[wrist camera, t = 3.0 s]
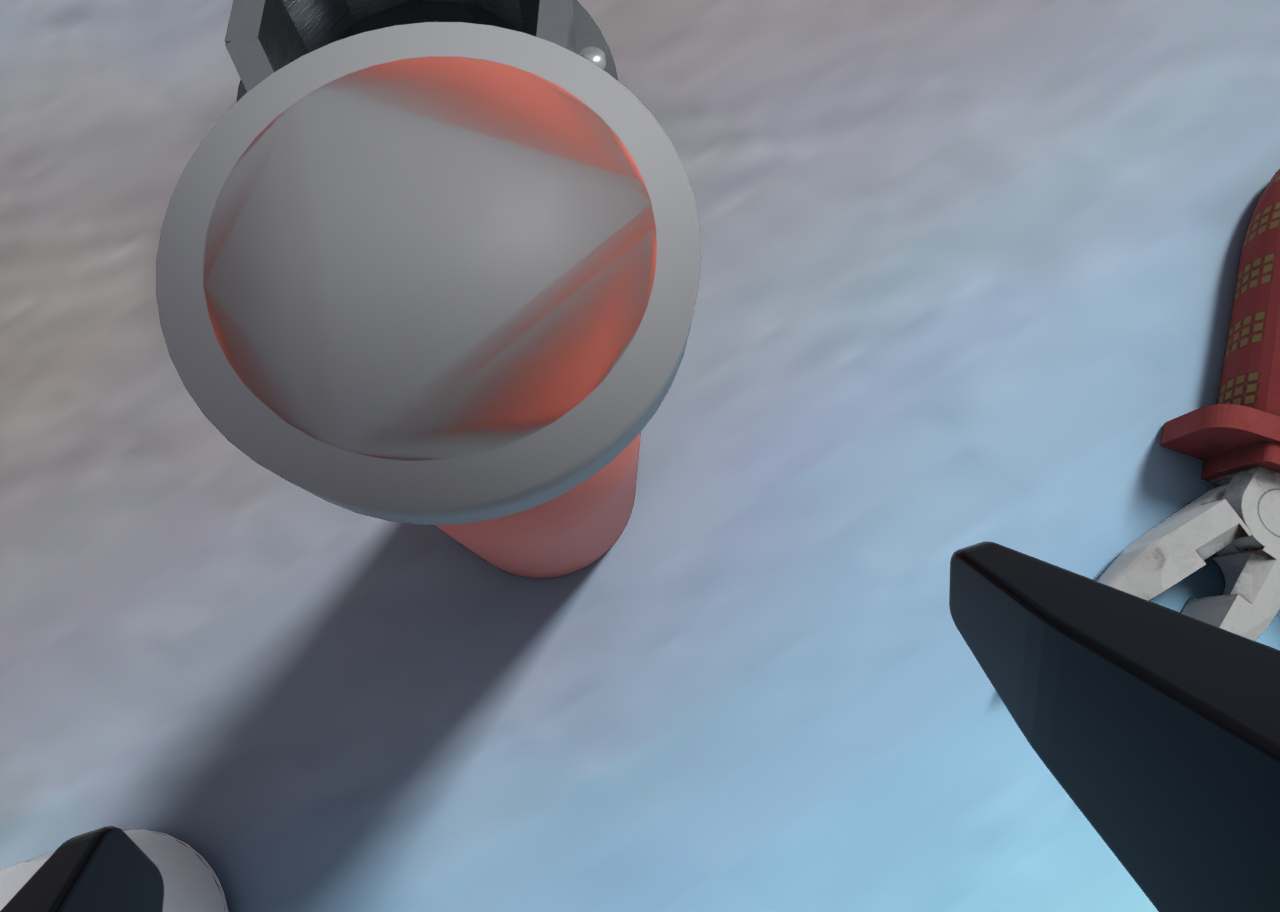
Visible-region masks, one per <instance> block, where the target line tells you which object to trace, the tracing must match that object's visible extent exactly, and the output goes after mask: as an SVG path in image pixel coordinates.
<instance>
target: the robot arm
mask: <svg viewBox="0 0 1280 912" xmlns="http://www.w3.org/2000/svg"><path fill="white" fill-rule="evenodd" d="M949 605H950V612H951V615H952V618H953V621H954V623H955V625H956V627H957V629H958V630H959V632H960V633H961V635H962V637H963V638H964V640H965V642H966V643H967V645H968V646H969V648H970V650H971V651H972V653H973V654H974V656H975V658H976V659H977V661H978V662H979V664H980V666H981V667H982V669H983V670H984V672H985V674H986V675H987V677H988V679H989V680H990V682H991V683H992V685H993V687H994V688H995V690H996V691H997V693H998V695H999V696H1000V698H1001V699H1002V701H1003V703H1004V704H1005V706H1006V708H1007V709H1008V711H1009V712H1010V714H1011V716H1012V717H1013V719H1014V720H1015V722H1016V724H1017V725H1018V727H1019V728H1020V730H1021V731H1022V733H1023V734H1024V736H1025V737H1026V739H1027V740H1028V742H1029V743H1030V745H1031V746H1032V748H1033V749H1034V750H1035V752H1036V753H1037V754H1038V756H1039V757H1040V759H1041V760H1042V761H1043V763H1044V764H1045V765H1046V767H1047V768H1048V769H1049V770H1050V772H1051V773H1052V774H1053V776H1054V777H1055V778H1056V780H1057V781H1058V782H1059V783H1060V785H1061V786H1062V787H1063V789H1064V790H1065V791H1066V792H1067V794H1068V795H1069V796H1070V798H1071V799H1072V800H1073V801H1074V803H1075V804H1076V805H1077V807H1078V808H1079V809H1080V811H1081V812H1082V813H1083V814H1084V816H1085V817H1086V818H1087V820H1088V821H1089V822H1090V823H1091V825H1092V826H1093V827H1094V829H1095V830H1096V831H1097V832H1098V834H1099V835H1100V836H1101V838H1102V839H1103V840H1104V842H1105V843H1106V844H1107V845H1108V847H1109V848H1110V849H1111V851H1112V852H1113V853H1114V854H1115V856H1116V857H1117V858H1118V860H1119V861H1120V862H1121V863H1122V865H1123V866H1124V867H1125V869H1126V870H1127V871H1128V872H1129V874H1130V875H1131V876H1132V878H1133V879H1134V880H1135V882H1136V883H1137V884H1138V885H1139V887H1140V888H1141V889H1142V891H1143V892H1144V893H1145V894H1146V896H1147V897H1148V898H1149V900H1150V901H1151V902H1152V903H1153V905H1154V906H1155V907H1156V909H1157V910H1158V911H1159V912H1280V650H1277V649H1274V648H1272V647H1269V646H1266V645H1264V644H1261V643H1258V642H1256V641H1253V640H1250V639H1248V638H1245V637H1243V636H1240V635H1237V634H1235V633H1232V632H1229V631H1227V630H1224V629H1221V628H1219V627H1216V626H1213V625H1211V624H1208V623H1206V622H1203V621H1200V620H1198V619H1195V618H1192V617H1190V616H1187V615H1184V614H1182V613H1179V612H1176V611H1174V610H1171V609H1169V608H1166V607H1163V606H1161V605H1158V604H1155V603H1153V602H1150V601H1147V600H1145V599H1142V598H1139V597H1137V596H1134V595H1132V594H1129V593H1126V592H1124V591H1121V590H1118V589H1116V588H1113V587H1110V586H1108V585H1105V584H1102V583H1100V582H1097V581H1095V580H1092V579H1089V578H1087V577H1084V576H1081V575H1079V574H1076V573H1073V572H1071V571H1068V570H1065V569H1063V568H1060V567H1058V566H1055V565H1052V564H1050V563H1047V562H1044V561H1042V560H1039V559H1036V558H1034V557H1031V556H1028V555H1026V554H1023V553H1021V552H1018V551H1015V550H1013V549H1010V548H1007V547H1005V546H1002V545H999V544H997V543H993V542H982V543H978V544H975V545H972V546H969V547H966V548H963V549H960V550H957V551H956V552H954V554H953V555H952V557H951V562H950V597H949ZM163 903H164V882H163V878H162V875H161V872H160V870H159V868H158V867H157V866H156V865H155V864H154V863H153V862H152V860H151V859H150V858H149V857H148V856H147V855H146V854H145V853H144V852H143V851H142V850H141V849H140V848H139V847H138V846H137V845H136V844H135V843H134V842H133V841H132V839H131V838H130V837H129V836H128V835H127V834H126V833H125V832H124V831H123V830H121V829H120V828H116V827H113V826H109V827H104V828H100V829H97V830H94V831H91V832H88V833H85V834H82V835H79V836H76V837H73V838H71V839H69V840H67V841H66V842H65V843H63V844H62V845H61V846H60V847H59V848H58V849H57V850H56V851H55V852H54V853H53V854H52V855H51V856H50V858H49V859H48V860H47V861H46V862H45V863H44V864H43V865H42V866H41V867H40V868H39V869H38V871H37V872H36V873H35V874H34V875H33V876H32V877H31V878H30V879H29V880H28V881H27V883H26V884H25V885H24V886H23V887H22V888H21V889H20V890H19V891H18V892H17V893H16V894H15V896H14V897H13V898H12V899H11V900H10V901H9V902H8V903H7V904H6V905H5V906H4V908H3V909H2V910H1V911H0V912H163Z"/></svg>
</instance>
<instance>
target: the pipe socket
mask: <svg viewBox="0 0 1280 912" xmlns="http://www.w3.org/2000/svg"><path fill="white" fill-rule="evenodd" d="M424 22H464V23H473V24H482V25H491V26H497V27H501V28H505V29H510V30H514V31H519V32H523V33H527V34H529V35H532V36H535V37H538V38H541V39H544V40H547V41H550V42H553V43H555V44H557V45H559V46H561V47H563V48H565V49H568V50H570V51H572V52H574V53H576V54H578V55H580V56H582V57H584V58H585V59H587V60H588V61H590V62H591V63H593V64H595V65H596V66H598V67H599V68H601V69H602V70H604V71H606V72H607V73H609V74H610V75H611V76H612V77H613V78H615V79H616V80H617V81H618V79H617V73H616V67H615V64H614V61H613V58H612V55H611V52H610V49H609V47H608V45H607V43H606V41H605V39H604V37H603V35H602V33H601V31H600V29H599V28H598V26H597V25H596V23H595V22H594V20H593V19H592V18H591V16H590V15H589V13H588V12H587V11H586V10H585V9H584V8H583V7H582V6H581V4H580V3H579V2H578V1H577V0H234V1H233V5H232V10H231V14H230V19H229V24H228V28H227V33H226V37H225V42H226V44H225V45H226V47H227V50H228V52H229V54H230V56H231V58H232V60H233V63H234V65H235V67H236V69H237V71H238V73H239V76H240V78H241V81H240V84H239V88H238V95H237V102H238V101H239V100H240V99H241V98H242V97H243V96H244V95H245V94H246V93H247V92H249V91H250V90H251V89H253V88H254V87H255V86H257V85H258V84H259V83H261V82H262V81H263V80H265V79H266V78H267V77H269V76H270V75H271V74H272V73H274V72H276V71H277V70H279V69H281V68H283V67H284V66H286V65H288V64H289V63H291V62H293V61H294V60H296V59H298V58H299V57H301V56H303V55H305V54H308V53H310V52H312V51H314V50H317V49H319V48H321V47H323V46H325V45H328V44H330V43H332V42H335V41H338V40H341V39H344V38H347V37H351V36H354V35H357V34H360V33H363V32H367V31H372V30H377V29H381V28H386V27H391V26H395V25H405V24H414V23H424Z"/></svg>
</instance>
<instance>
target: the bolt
mask: <svg viewBox="0 0 1280 912" xmlns="http://www.w3.org/2000/svg"><path fill="white" fill-rule="evenodd" d="M123 831H124V832H125V833H126V834H127V835H128V836H129V837H130V838H131V839H132V841H133V842H134V843H135V844H136V845H137V846H138V847H139V848H140V849H141V850H142V851H143V852H144V853H145V854H146V855H147V856H148V857H149V858H150V859H151V860H152V862H153V863H154V864H155V865H156V866H157V867H158V868H159V870H160V872H161V875H162V878H163V882H164V903H163V912H229V911H228V907H227V902H226V898H225V894H224V892H223V889H222V886H221V884H220V881H219V879H218V877H217V876H216V874H215V872H214V870H213V869H212V868H211V866H210V865H209V864H208V862H207V861H206V860H205V859H204V857H203V856H201V855H200V854H199V853H198V852H197V851H195V850H194V849H193V848H192V847H191V846H189V845H188V844H187V843H185V842H183V841H181V840H178V839H176V838H174V837H172V836H170V835H168V834H166V833H161V832H156V831H150V830H145V829H134V830H123ZM54 852H55V851H53V852H51V853H48V854H45V855H42V856H39V857H36V858H33V859H31V860H28V861H25V862H22V863H18V864H16V865H13V866H10V867H7V868H4V869H2V870H0V911H1V910H2V909H3V908H4V906H5V905H6V904H7V903H8V902H9V901H10V900H11V899H12V898H13V897H14V896H15V894H16V893H17V892H18V891H19V890H20V889H21V888H22V887H23V886H24V885H25V884H26V883H27V881H28V880H29V879H30V878H31V877H32V876H33V875H34V874H35V873H36V872H37V871H38V869H39V868H40V867H41V866H42V865H43V864H44V863H45V862H46V861H47V860H48V859H49V858H50V856H51V855H52V854H53V853H54Z"/></svg>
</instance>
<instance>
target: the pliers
mask: <svg viewBox="0 0 1280 912" xmlns="http://www.w3.org/2000/svg"><path fill="white" fill-rule="evenodd" d="M1160 446H1162V447H1165V448H1168V449H1171V450H1174V451H1177V452H1180V453H1183V454H1186V455H1190V456H1193V457H1196V458H1199V459H1202V460H1204V464H1203V470H1202V477H1201V479H1203V480H1206V481H1209V482H1212V483H1215V484H1218V485H1221V486H1219V487H1215V488H1213V489H1210V490H1209V491H1207V492H1206V493H1204V494H1203V495H1201V496H1200V497H1198V498H1197V499H1195V500H1194V501H1192V502H1191V503H1189V504H1188V505H1186V506H1185V507H1183V508H1182V509H1180V510H1179V511H1177V512H1176V513H1174V514H1173V515H1171V516H1170V517H1168V518H1167V519H1165V520H1164V521H1162V522H1161V523H1159V524H1158V525H1156V526H1155V527H1153V528H1152V529H1151V530H1149V531H1148V532H1146V533H1145V534H1143V535H1142V536H1141V537H1139V538H1138V539H1136V540H1135V541H1134V542H1132V543H1131V544H1130V545H1129V546H1127V547H1126V548H1125V549H1124V550H1123V551H1122V552H1121V553H1120V555H1119V556H1118V557H1117V558H1116V559H1115V560H1114V561H1113V563H1112V564H1111V565H1110V566H1109V567H1108V568H1107V569H1106V571H1105V572H1104V573H1103V574H1102V575H1101V576H1100V577H1099V579H1098V580H1097V582H1100V583H1102V584H1105V585H1108V586H1110V587H1113V588H1116V589H1118V590H1121V591H1124V592H1126V593H1129V594H1132V595H1134V596H1137V597H1139V598H1142V599H1145V600H1147V601H1149V600H1150V599H1152V598H1154V597H1155V596H1157V595H1159V594H1160V593H1162V592H1164V591H1165V590H1167V589H1169V588H1170V587H1172V586H1173V585H1175V584H1176V583H1178V582H1180V581H1181V580H1183V579H1184V578H1186V577H1187V576H1189V575H1190V574H1192V573H1194V572H1195V571H1197V570H1198V569H1200V568H1201V567H1203V566H1205V565H1206V563H1205V561H1204V560H1205V559H1207V558H1208V557H1210V556H1211V555H1213V554H1216V555H1217V556H1213V557H1212V559H1213V560H1214V561H1216V563H1217V564H1218V565H1219V566H1220V568H1221V570H1222V572H1223V574H1224V578H1225V589H1224V592H1223V594H1222V595H1219V596H1209V597H1199V598H1190V599H1189V600H1188V602H1187V603H1186V605H1185V607H1184V609H1183V611H1182V614H1184V615H1187V616H1190V617H1192V618H1195V619H1198V620H1200V621H1203V622H1206V623H1208V624H1211V625H1213V626H1216V627H1219V628H1221V629H1224V630H1227V631H1229V632H1232V633H1235V634H1237V635H1240V636H1243V637H1245V638H1248V639H1250V640H1253V641H1256V640H1257V639H1258V638H1259V637H1260V635H1261V634H1262V633H1263V632H1264V631H1265V630H1266V628H1267V627H1268V625H1269V624H1270V623H1271V621H1272V620H1273V618H1274V617H1275V615H1276V614H1277V613H1278V611H1279V610H1280V169H1279V170H1278V171H1277V172H1276V173H1275V175H1274V176H1273V178H1272V179H1271V181H1270V182H1269V184H1268V185H1267V187H1266V188H1265V190H1264V191H1263V193H1262V195H1261V196H1260V198H1259V200H1258V203H1257V205H1256V207H1255V210H1254V212H1253V215H1252V217H1251V220H1250V223H1249V226H1248V229H1247V232H1246V235H1245V238H1244V242H1243V246H1242V250H1241V255H1240V261H1239V268H1238V274H1237V280H1236V287H1235V293H1234V299H1233V306H1232V312H1231V318H1230V325H1229V331H1228V337H1227V344H1226V350H1225V356H1224V363H1223V369H1222V375H1221V382H1220V388H1219V394H1218V401H1217V404H1215V405H1209V406H1205V407H1202V408H1199V409H1197V410H1194V411H1192V412H1189V413H1187V414H1185V415H1182V416H1180V417H1177V418H1175V419H1173V420H1170V421H1168V422H1166V423H1165V424H1164V426H1163V432H1162V437H1161V443H1160Z"/></svg>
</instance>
